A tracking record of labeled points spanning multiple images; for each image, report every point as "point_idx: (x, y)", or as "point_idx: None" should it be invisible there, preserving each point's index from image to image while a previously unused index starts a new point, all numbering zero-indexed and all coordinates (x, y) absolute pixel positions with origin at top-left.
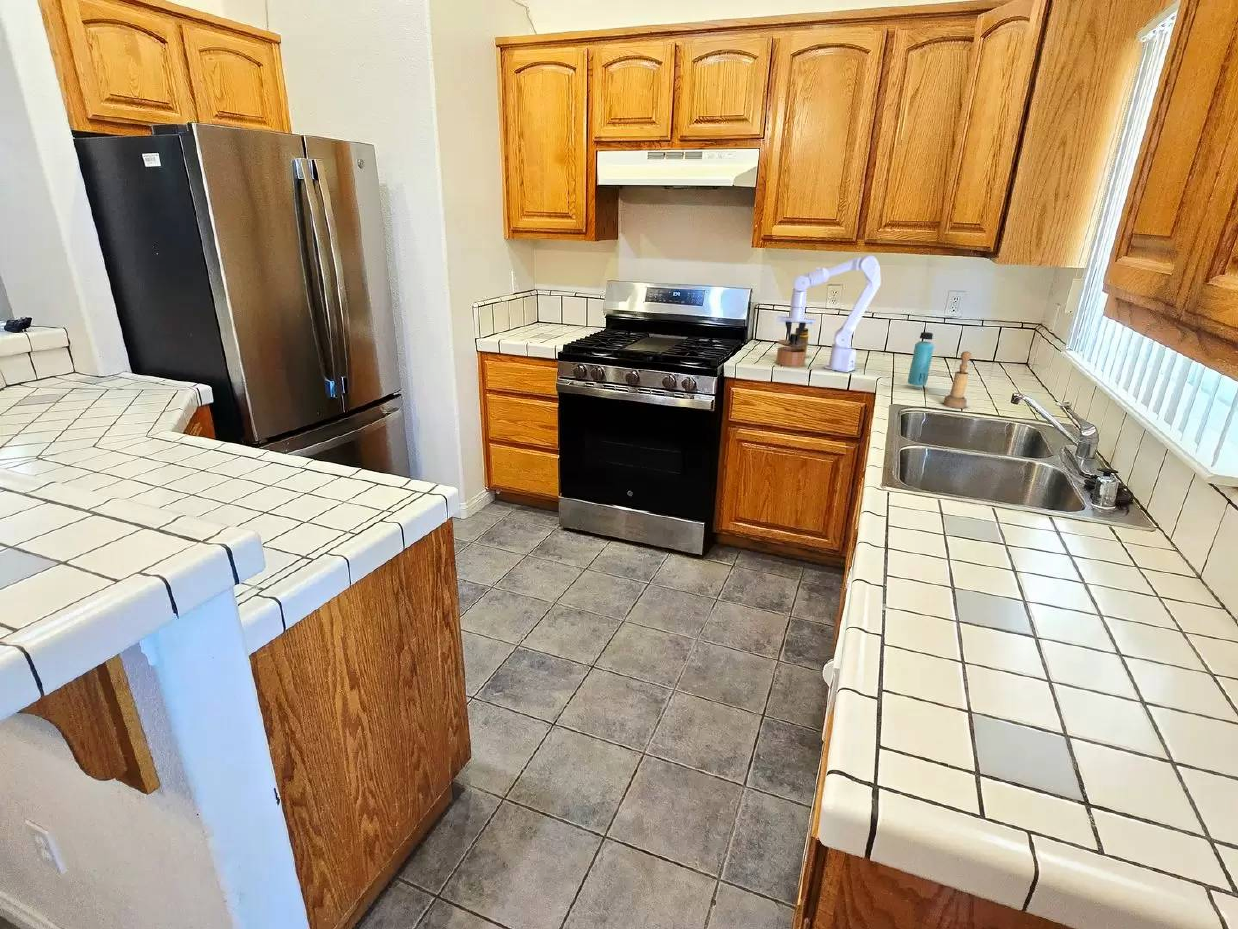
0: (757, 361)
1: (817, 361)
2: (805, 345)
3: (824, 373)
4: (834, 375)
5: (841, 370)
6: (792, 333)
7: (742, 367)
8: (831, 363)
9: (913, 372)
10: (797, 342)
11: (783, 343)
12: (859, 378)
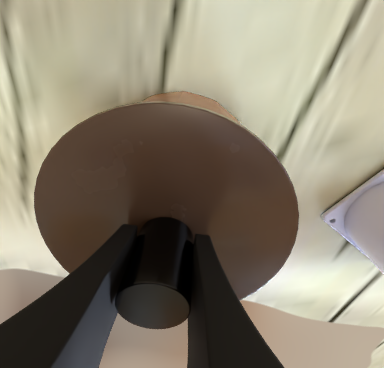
0: (23, 153)
1: (370, 51)
2: (245, 294)
3: (281, 280)
4: (306, 294)
5: (367, 256)
6: (134, 290)
7: (4, 261)
8: (357, 241)
9: None
10: (205, 234)
11: None
12: (373, 309)
